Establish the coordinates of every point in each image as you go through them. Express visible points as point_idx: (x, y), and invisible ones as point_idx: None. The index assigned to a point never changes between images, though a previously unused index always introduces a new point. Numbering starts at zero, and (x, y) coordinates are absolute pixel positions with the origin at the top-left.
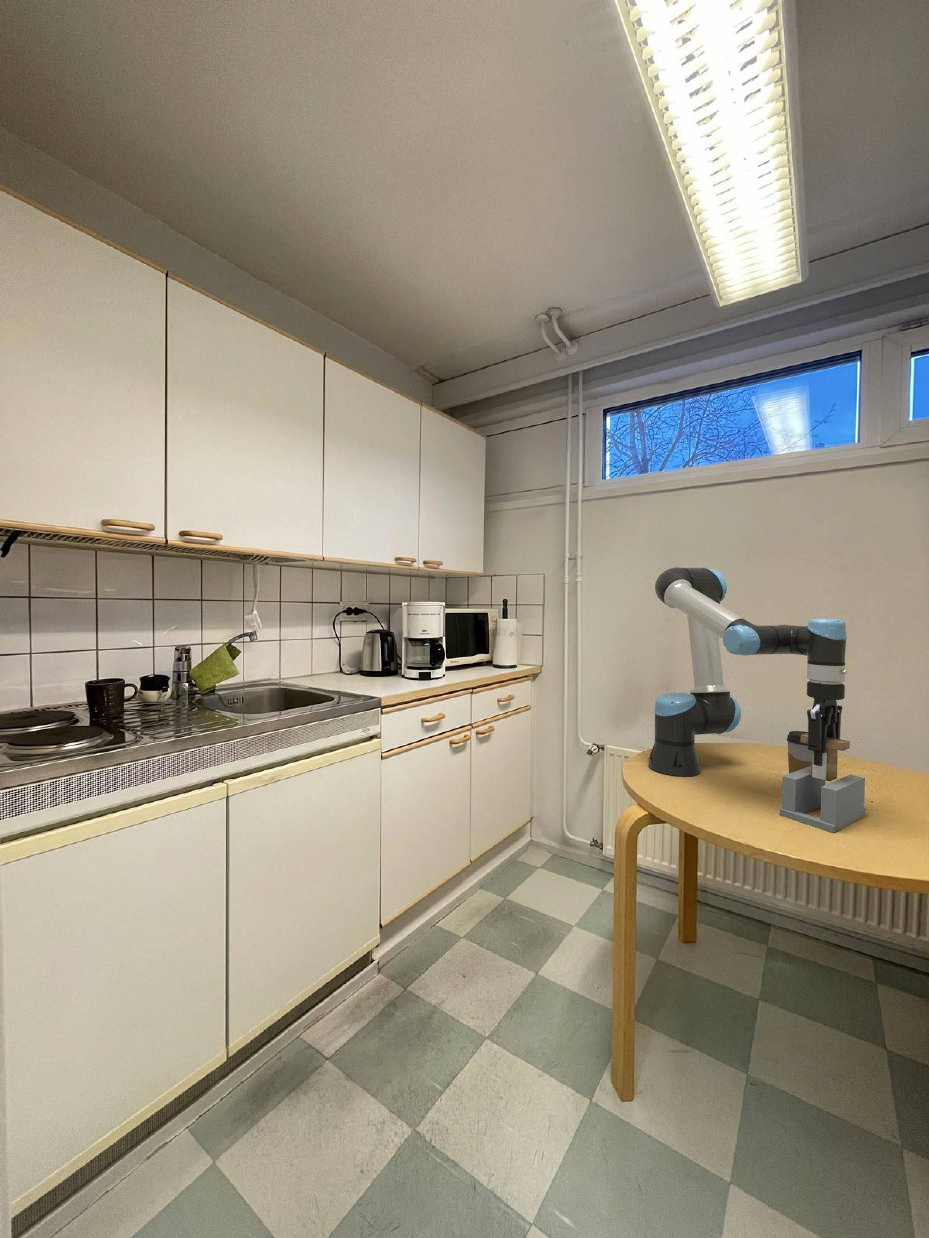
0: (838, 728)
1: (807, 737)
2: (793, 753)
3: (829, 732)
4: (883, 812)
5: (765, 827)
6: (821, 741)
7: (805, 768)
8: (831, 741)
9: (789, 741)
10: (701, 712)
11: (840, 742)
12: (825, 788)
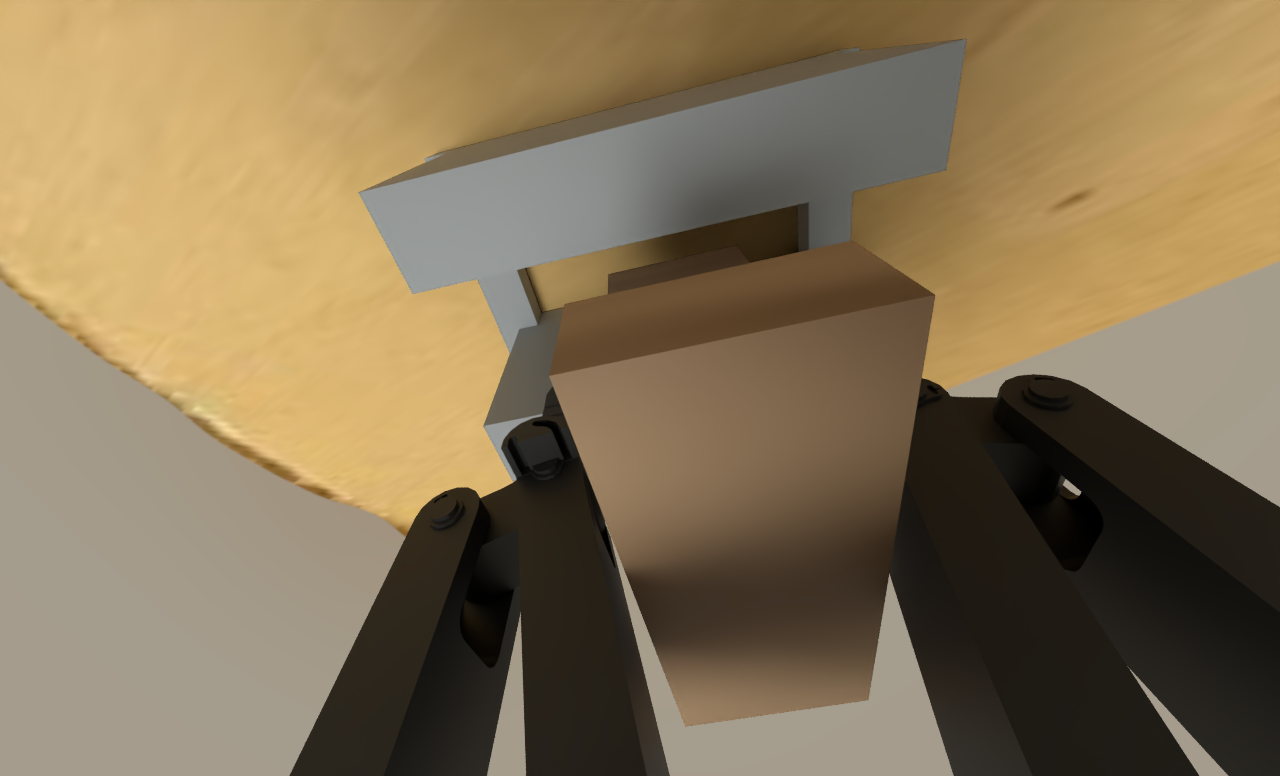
0: (1195, 727)
1: (589, 468)
2: None
3: (931, 662)
4: (938, 303)
5: (255, 240)
6: (503, 677)
7: (777, 101)
8: (666, 670)
9: None
10: None
11: (701, 710)
12: (494, 439)
